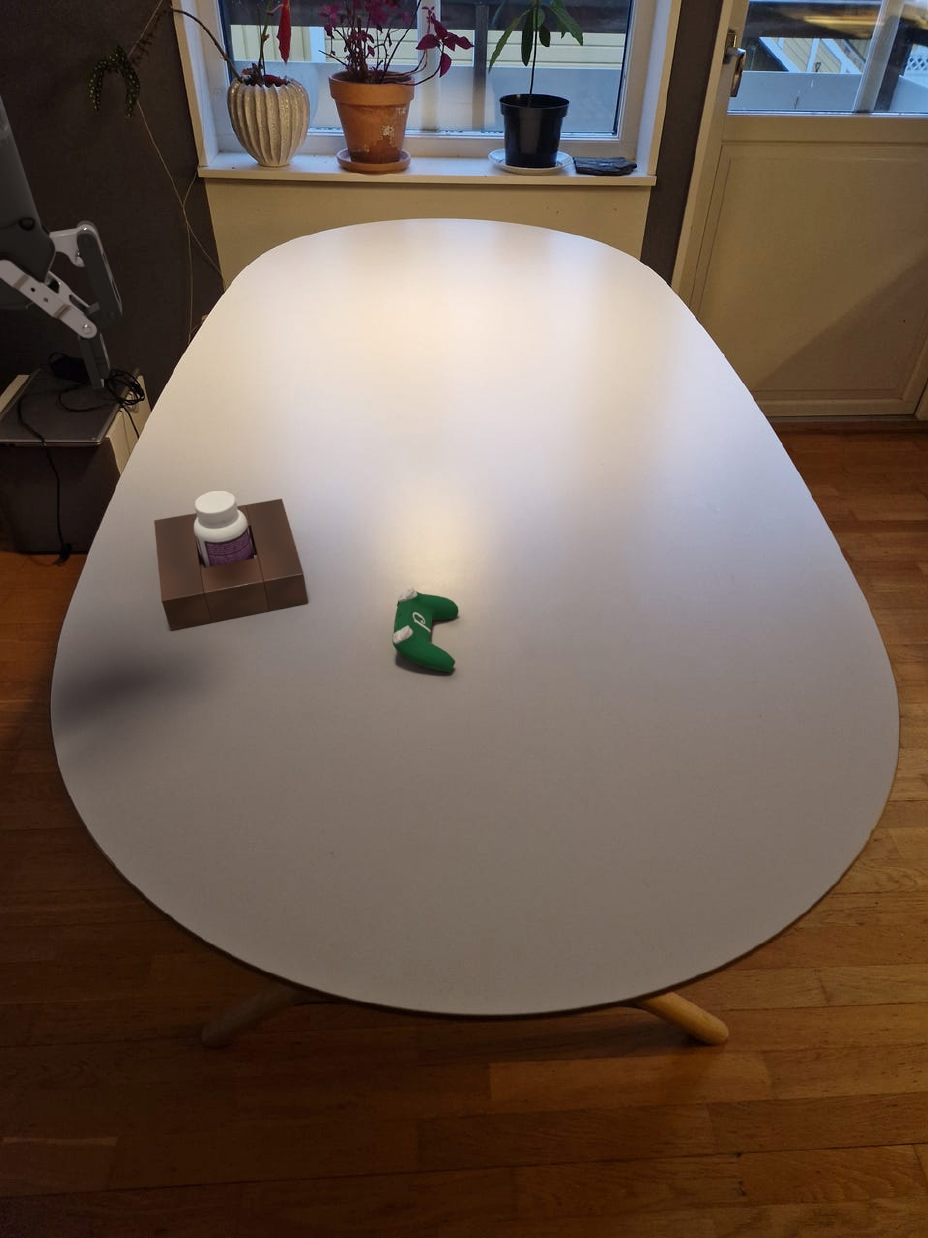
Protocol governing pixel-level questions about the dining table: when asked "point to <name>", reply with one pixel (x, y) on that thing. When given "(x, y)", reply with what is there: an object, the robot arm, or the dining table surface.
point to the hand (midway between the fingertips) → (33, 392)
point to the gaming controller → (422, 628)
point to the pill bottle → (221, 530)
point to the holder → (229, 570)
